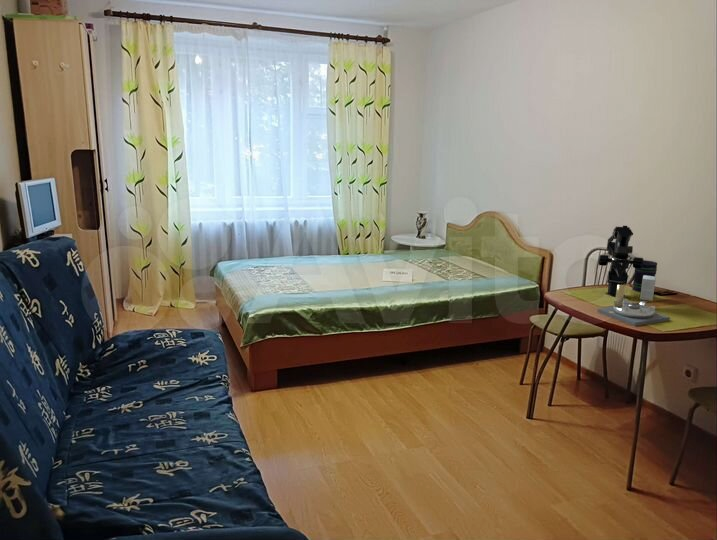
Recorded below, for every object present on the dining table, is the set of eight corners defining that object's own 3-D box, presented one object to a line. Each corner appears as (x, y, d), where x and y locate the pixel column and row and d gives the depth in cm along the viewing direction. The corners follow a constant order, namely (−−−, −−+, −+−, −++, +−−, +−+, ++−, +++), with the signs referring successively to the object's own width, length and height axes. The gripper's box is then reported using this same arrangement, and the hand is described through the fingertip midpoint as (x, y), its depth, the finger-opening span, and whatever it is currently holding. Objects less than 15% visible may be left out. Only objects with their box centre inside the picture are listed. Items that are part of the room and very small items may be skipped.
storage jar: (658, 292, 267) (662, 263, 264) (641, 293, 265) (645, 264, 262) (643, 287, 277) (647, 259, 273) (627, 288, 275) (631, 260, 271)
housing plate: (597, 312, 236) (597, 308, 236) (631, 307, 243) (631, 303, 243) (634, 326, 218) (634, 322, 218) (669, 320, 225) (670, 316, 225)
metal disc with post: (612, 314, 227) (615, 287, 224) (613, 305, 241) (616, 279, 238) (654, 320, 220) (658, 292, 217) (653, 310, 234) (657, 283, 231)
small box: (640, 295, 262) (643, 275, 260) (653, 297, 260) (656, 276, 257) (639, 299, 256) (642, 278, 253) (652, 301, 253) (655, 279, 250)
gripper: (601, 238, 249) (598, 265, 242) (645, 240, 241) (644, 269, 234) (599, 251, 258) (597, 278, 251) (642, 254, 250) (641, 282, 243)
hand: (619, 276), depth 245 cm, fingers closed
